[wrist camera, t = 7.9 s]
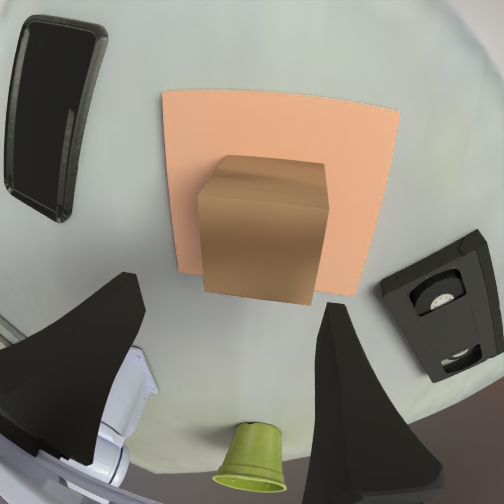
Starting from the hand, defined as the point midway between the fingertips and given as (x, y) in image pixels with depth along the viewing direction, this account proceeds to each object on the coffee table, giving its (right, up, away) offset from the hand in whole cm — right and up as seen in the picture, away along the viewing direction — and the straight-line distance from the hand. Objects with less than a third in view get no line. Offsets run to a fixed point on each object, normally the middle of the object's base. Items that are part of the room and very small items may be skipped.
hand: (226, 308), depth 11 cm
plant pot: (+2, -22, +27) cm, 35 cm away
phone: (-13, +11, +6) cm, 19 cm away
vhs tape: (+17, -3, +10) cm, 20 cm away
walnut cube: (+2, +5, +6) cm, 8 cm away
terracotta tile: (+2, +5, +6) cm, 8 cm away
